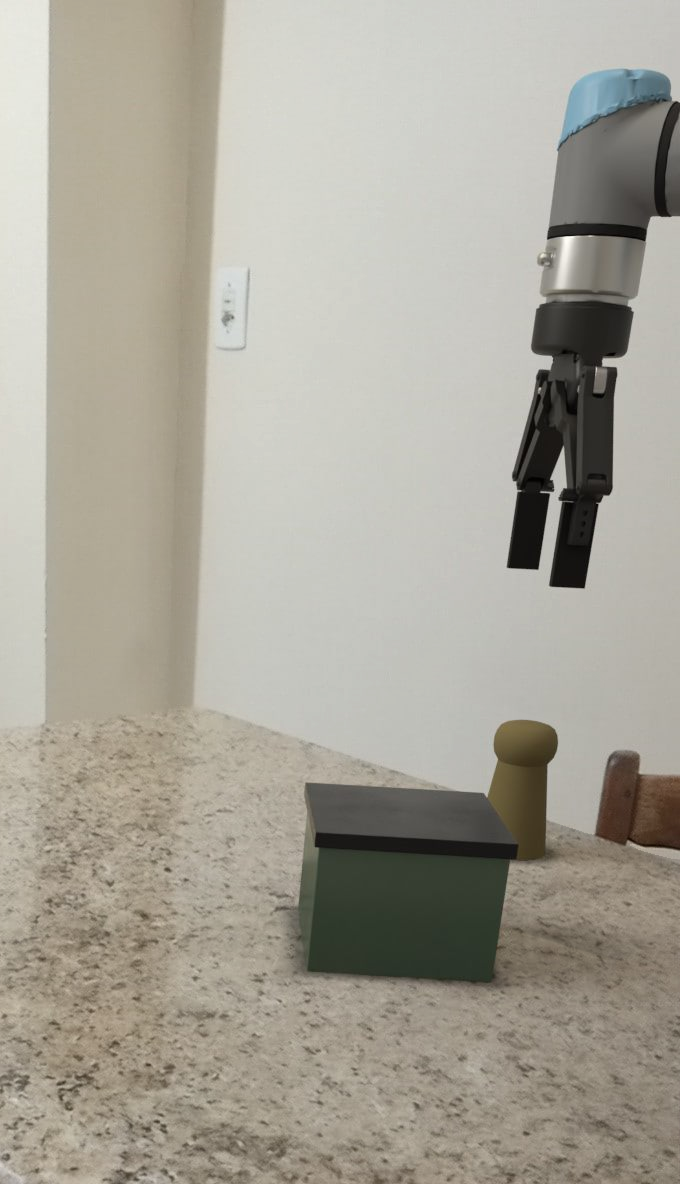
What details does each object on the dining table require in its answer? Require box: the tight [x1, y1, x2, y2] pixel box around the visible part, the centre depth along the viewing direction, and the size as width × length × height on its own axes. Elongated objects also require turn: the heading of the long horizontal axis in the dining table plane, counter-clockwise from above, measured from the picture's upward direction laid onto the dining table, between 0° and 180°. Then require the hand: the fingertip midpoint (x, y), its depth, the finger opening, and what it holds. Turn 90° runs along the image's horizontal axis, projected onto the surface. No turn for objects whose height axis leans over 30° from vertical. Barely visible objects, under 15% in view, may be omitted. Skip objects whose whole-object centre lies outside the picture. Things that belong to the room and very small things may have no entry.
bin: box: [297, 782, 519, 983], centre depth 93 cm, size 13×13×10 cm
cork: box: [486, 719, 559, 861], centre depth 116 cm, size 6×6×11 cm
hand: (543, 578), depth 117 cm, fingers open, 13 cm apart
